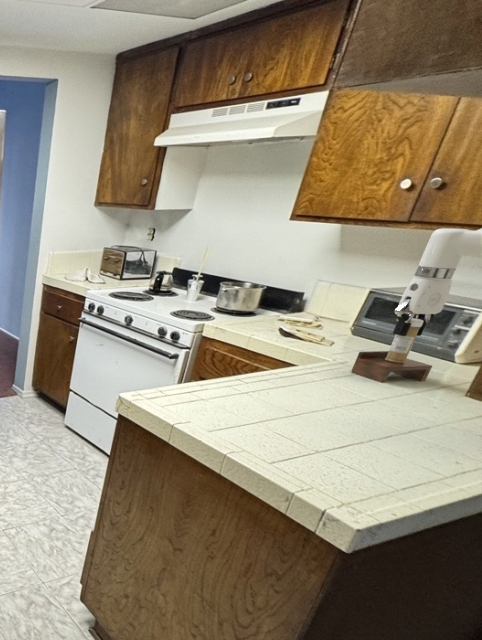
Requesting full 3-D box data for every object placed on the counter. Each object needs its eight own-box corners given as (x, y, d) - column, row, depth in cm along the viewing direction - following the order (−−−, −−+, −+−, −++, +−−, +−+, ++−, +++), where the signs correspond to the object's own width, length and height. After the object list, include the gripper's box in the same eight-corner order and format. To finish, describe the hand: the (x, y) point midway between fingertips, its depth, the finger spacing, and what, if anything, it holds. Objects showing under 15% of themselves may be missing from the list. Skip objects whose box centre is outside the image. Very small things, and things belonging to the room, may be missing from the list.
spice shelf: (425, 380, 144) (435, 359, 141) (380, 382, 142) (390, 360, 139) (393, 371, 152) (402, 350, 150) (350, 372, 150) (359, 351, 147)
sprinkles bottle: (407, 362, 144) (427, 320, 139) (400, 364, 142) (420, 321, 137) (388, 358, 148) (406, 316, 143) (381, 360, 146) (399, 318, 141)
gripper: (424, 275, 130) (396, 338, 137) (474, 275, 133) (444, 337, 139) (394, 271, 137) (369, 332, 144) (442, 271, 139) (415, 331, 146)
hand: (406, 334), depth 142 cm, fingers closed on sprinkles bottle, 4 cm apart
